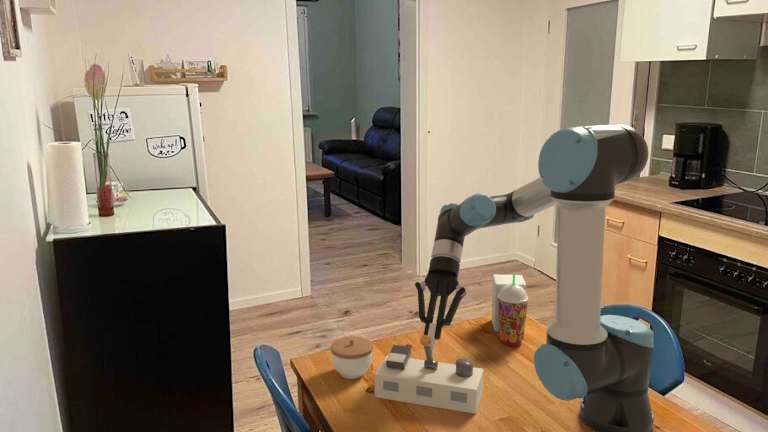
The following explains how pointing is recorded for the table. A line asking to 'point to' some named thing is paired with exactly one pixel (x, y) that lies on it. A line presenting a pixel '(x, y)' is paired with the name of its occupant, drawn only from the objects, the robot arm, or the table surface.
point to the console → (430, 386)
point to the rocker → (398, 357)
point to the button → (464, 367)
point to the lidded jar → (352, 356)
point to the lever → (428, 352)
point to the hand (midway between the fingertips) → (429, 351)
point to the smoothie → (512, 313)
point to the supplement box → (498, 284)
